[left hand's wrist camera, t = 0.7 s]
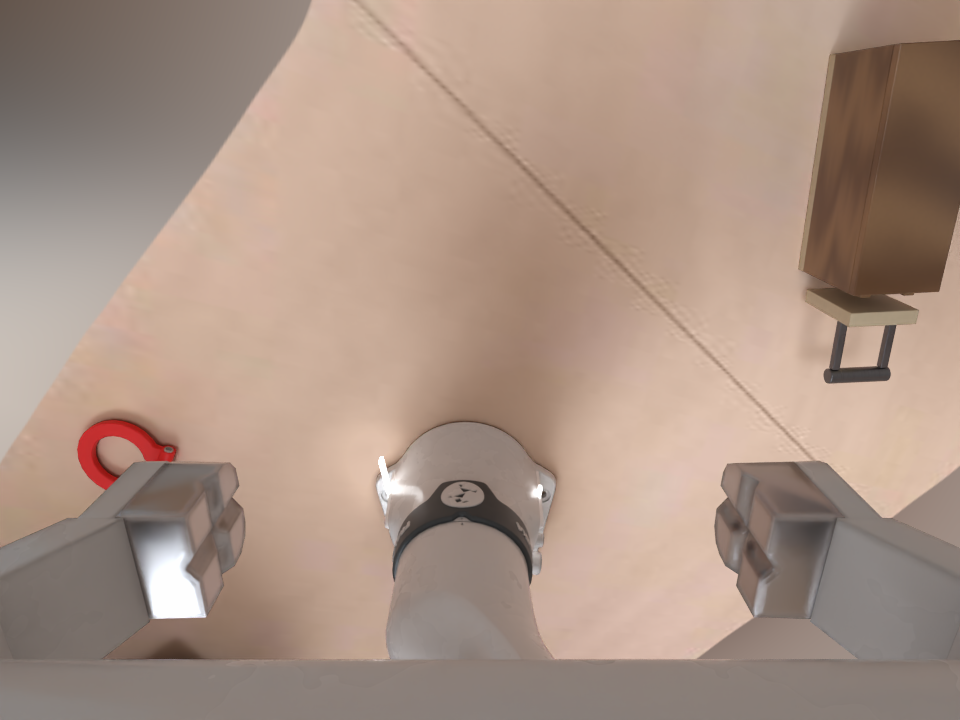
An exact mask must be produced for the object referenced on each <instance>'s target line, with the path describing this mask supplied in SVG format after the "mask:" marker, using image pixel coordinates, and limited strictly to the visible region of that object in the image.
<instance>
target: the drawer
mask: <svg viewBox="0 0 960 720" xmlns="http://www.w3.org/2000/svg"><path fill="white" fill-rule="evenodd" d="M902 295H904V296H905V295H914V293H903V294H902ZM805 302H807V303H808V304H810V305H812V306H814V307H815V308H817V309H819V310H820V311H822V312H824V313H826V314H827V315H829V316H831V317H832V318H834V319H836V320H838V321H837V327H836V333H835V338H834V344H833V349H832V355H831V361H830V366H829V368H830V369H826V370H825V371H824V380H825V382H826V383H850V382H872V381H887V380H889V378H890V375H891V373H890V369H889V368H888V367H887V366H888V362H889V357H890V352H891V348H892V343H893V339H894V334H895V329H896V325H903V324H916V321H917V317H918V313H919V310H918V309H915V308H913V307H911V306H909V305H906V304H904V303H902V302H900V301H898V300H895V299H893V298H891V297H889V296H887V295H884V294H883V295H862V296H853V295H851V294H849V293H847V292H844V291H842V290H840V289H838V288H825V289H807V293H806V300H805ZM883 325H885V329H884V334H883V338H882V343H881V348H880V353H879V357H878V362H877V366H874V367H852V368H840V364H841V358H842V353H843V347H844V342H845V337H846V331H847V326H848V327H862V326H883Z"/></svg>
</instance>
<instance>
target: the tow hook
mask: <svg viewBox="0 0 960 720" xmlns="http://www.w3.org/2000/svg"><path fill="white" fill-rule="evenodd" d="M107 436H118V437H122V438H125V439H127V440H129V441H130V442H132V443H134V444H135V445H136V446H137V447H138V448H139V450H140V451H141V453H142V454H143V457H144V459H145V460H146V461H168V462H172V461H173V459H174V456H175V453H176V449H175V448H174V447H172V446H163V447H162V446H160V445H158V444H156V443H155V441H154V440H153V439H152V438H151V437H150V436H149V435H148V434H147V433H146V432H145V431H143V430H142V429H140V428H139V427H137V426H136V425H133V424H130V423H128V422H125V421H118V420H107V421H102V422H99V423H97V424H94V425H93V426H92V427H90V428H89V429H88V430H87V431H85V432H84V433H83V435H82V437H81V438H80V440H79V444H78V449H77V451H78V459H79V462H80V464H81V466H82V469H83V470H84V471H85V473H86V474H87V476H88V477H89V478H90V479H91V480H92V481H93V482H95V483H96V484H97V485H98V486H100V487H102V488H103V489H105V490H107V489H108V488H109V487H110V486H111V485H112V484H113V483H114V482H115V481H116V480H117V479H118V478H117V477H114V476H112V475H111V474H109V473H108V472H107V471H106V470H104V469H103V468H102V466H101V465H100V463H99V462H98V459H97V457H96V447H97V444H98V442H99V440H100V439H101V438H104V437H107Z"/></svg>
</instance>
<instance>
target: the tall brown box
mask: <svg viewBox="0 0 960 720" xmlns="http://www.w3.org/2000/svg"><path fill="white" fill-rule="evenodd" d="M959 206H960V40H953V41H935V42H918V43H901V44H894V45H888V46H882V47H876V48H870V49H863V50H857V51H851V52H845V53H839V54H831V55H830V58H829V65H828V72H827V78H826V85H825V92H824V99H823V105H822V112H821V119H820V126H819V133H818V139H817V146H816V153H815V160H814V166H813V173H812V180H811V187H810V193H809V200H808V207H807V214H806V221H805V227H804V234H803V241H802V248H801V254H800V261H799V268H798V269H799V270H801V271H804V272H806V273H808V274H810V275H812V276H814V277H816V278H818V279H820V280H822V281H824V282H826V283H828V284H830V285H832V286H834V287H836V288H838V289H840V290H842V291H844V292H847V293H849V294H851V295H853V296H862V295H883V294H903V293H924V292H939V289H940V285H941V281H942V277H943V273H944V269H945V264H946V260H947V256H948V252H949V248H950V244H951V239H952V235H953V231H954V227H955V223H956V219H957V214H958V210H959Z"/></svg>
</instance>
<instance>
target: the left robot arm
mask: <svg viewBox="0 0 960 720" xmlns="http://www.w3.org/2000/svg"><path fill="white" fill-rule="evenodd" d="M379 466H380V470H381V473H380V474H379V475H378V476H377V479H376V489H377V493H378V496H379V499H380V502H381V505H382V509H383V512H384V515H385V527H386V528H387V529H389V533H390V536H391V539H392V542H393V545H394V551H393V578H394V588H393V593H392V599H391V604H390V609H389V615H388V620H387V626H386V645H387V650H388V654H389V657H390V659H103V658H104V657H105V656H106V655H108V654H109V653H110V652H112V651H113V650H114V649H115V648H117V647H118V646H119V645H121V644H122V643H123V642H124V641H126V640H127V639H128V638H129V637H131V636H132V635H133V634H135V633H136V632H137V631H138V630H140V629H141V628H142V627H144V626H145V625H146V624H147V623H149V621H150V620H149V619H164V618H199V617H207V615H208V613H209V611H210V610H211V608H212V606H213V604H214V602H215V601H216V599H217V597H218V595H219V593H220V592H221V590H222V588H223V586H224V584H223V579H222V574H223V573H224V572H226V571H227V570H229V569H230V568H232V567H233V566H235V564H236V562H237V560H238V558H239V556H240V554H241V552H242V547H243V543H244V539H245V517H244V510H243V508H242V507H241V506H240V505H239V504H238V503H237V502H236V501H235V500H234V499H233V498H232V496H233V495H234V493H235V492H236V490H237V489H238V487H239V482H238V477H237V472H236V468H235V467H234V466H233V465H232V464H231V463H226V462H175V461H172V462H168V461H142V462H136V463H133V464H132V465H131V466H130V467H129V468H128V469H127V470H126V471H125V472H124V473H123V474H122V475H121V476H120V477H119V478H118V479H117V480H116V481H115V482H114V483H113V484H112V485H111V486H110V487H109V488H108V489H107V490H106V491H105V492H104V493H103V494H102V495H101V496H100V497H99V498H98V499H97V500H96V501H95V502H94V503H93V504H92V505H91V506H90V507H88V508H87V509H86V510H85V511H84V512H83V513H82V514H81V515H80V516H79V517H78V518H67V519H65V520H62V521H60V522H58V523H55V524H53V525H51V526H49V527H46V528H44V529H42V530H40V531H37V532H35V533H33V534H30V535H28V536H26V537H24V538H21V539H19V540H17V541H15V542H12V543H10V544H8V545H5V546H3V547H1V548H0V720H960V548H959V547H957V546H954V545H952V544H950V543H947V542H945V541H943V540H941V539H938V538H936V537H934V536H932V535H929V534H927V533H925V532H923V531H920V530H918V529H916V528H914V527H911V526H909V525H907V524H904V523H902V522H900V521H898V520H895V519H893V518H882V517H881V516H880V515H879V514H878V513H877V512H876V511H875V510H874V509H873V508H872V507H871V506H870V505H869V504H868V503H867V502H866V501H865V500H864V499H862V498H861V497H860V496H859V495H858V494H857V493H856V492H855V491H854V490H853V489H852V488H851V487H850V486H849V485H848V484H847V483H846V482H845V481H844V480H843V479H842V478H841V477H840V476H839V475H838V474H837V473H836V472H835V471H834V470H833V469H832V468H831V467H830V466H829V465H828V464H827V463H824V462H821V461H800V462H764V463H731V464H727V466H726V468H725V470H724V472H723V476H722V481H721V487H722V489H723V490H724V492H725V493H726V495H727V496H728V498H727V499H726V500H725V501H724V502H723V503H722V504H721V505H720V506H719V507H718V508H717V510H716V518H715V525H714V527H715V538H716V545H717V548H718V551H719V554H720V556H721V558H722V560H723V562H724V564H725V566H727V567H728V568H730V569H731V570H733V571H734V572H736V573H737V574H738V579H737V584H736V586H737V588H738V590H739V592H740V593H741V595H742V597H743V599H744V601H745V602H746V604H747V606H748V608H749V610H750V611H751V613H752V615H753V617H759V618H797V619H811V620H810V622H812V623H813V624H814V625H815V626H817V627H818V628H819V629H821V630H822V631H823V632H824V633H826V634H827V635H828V636H829V637H831V638H832V639H833V640H835V641H836V642H837V643H838V644H840V645H841V646H842V647H844V648H845V649H846V650H847V651H849V652H850V653H851V654H853V655H854V656H855V657H856V658H858V659H554V657H553V656H552V655H551V653H550V652H549V650H548V649H547V647H546V646H545V644H544V642H543V640H542V638H541V636H540V633H539V631H538V627H537V624H536V619H535V615H534V610H533V604H532V599H531V593H530V584H531V580H532V574H533V575H538V574H540V571H541V565H542V554H541V553H540V552H538V548H539V547H543V543H544V534H543V531H544V527H545V524H546V520H547V517H548V513H549V510H550V506H551V503H552V499H553V496H554V492H555V489H556V478H555V476H554V475H553V474H552V473H551V472H550V471H548V470H547V469H545V468H543V467H542V466H540V465H538V464H536V463H535V462H534V461H533V460H532V459H531V458H530V457H529V455H528V454H527V453H526V451H525V450H524V449H523V447H522V446H521V445H520V444H519V443H518V442H517V441H516V440H515V439H514V438H512V437H511V436H510V435H508V434H507V433H505V432H503V431H501V430H499V429H497V428H495V427H492V426H489V425H486V424H481V423H475V422H456V423H449V424H445V425H442V426H439V427H436V428H434V429H432V430H430V431H428V432H426V433H424V434H423V435H421V436H420V437H419V438H418V439H416V440H415V441H414V442H413V443H412V444H411V445H410V447H409V448H408V449H407V451H406V452H405V453H404V455H403V456H402V458H401V459H400V460H399V461H398V462H397V463H396V464H394V465H392V466H390V467H389V468H387V469H386V466H385V462H384V458H383V457H380V459H379ZM542 491H544V492H545V493H544V494H541V493H542Z"/></svg>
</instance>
